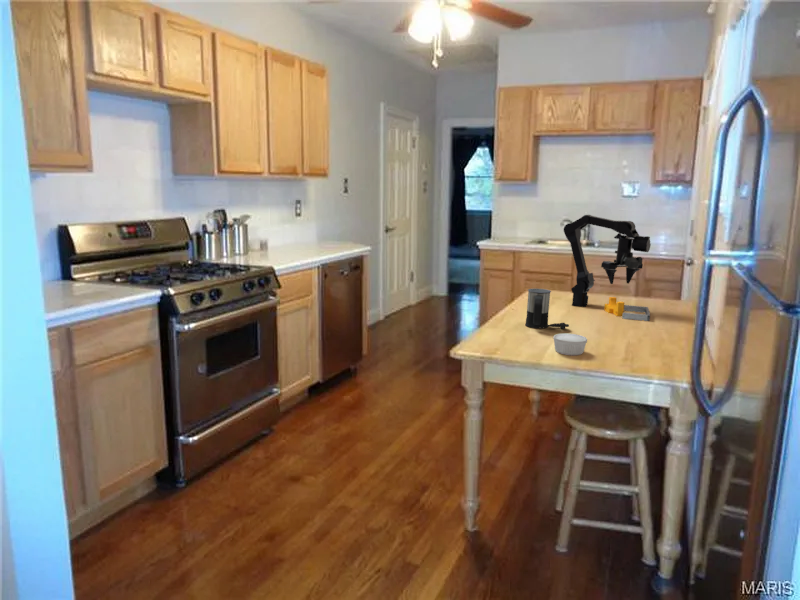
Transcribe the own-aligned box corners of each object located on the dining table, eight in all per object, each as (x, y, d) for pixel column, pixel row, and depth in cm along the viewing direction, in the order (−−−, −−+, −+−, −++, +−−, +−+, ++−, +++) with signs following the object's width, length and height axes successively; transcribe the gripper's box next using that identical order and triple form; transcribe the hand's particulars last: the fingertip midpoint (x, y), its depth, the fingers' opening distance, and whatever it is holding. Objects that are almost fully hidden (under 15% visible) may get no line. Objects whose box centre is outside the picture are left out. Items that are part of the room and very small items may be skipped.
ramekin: (548, 347, 211) (549, 332, 210) (578, 347, 212) (580, 333, 211) (558, 356, 200) (559, 341, 199) (590, 356, 201) (592, 341, 200)
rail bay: (622, 318, 257) (622, 312, 256) (621, 310, 273) (622, 304, 273) (649, 321, 253) (650, 315, 252) (647, 312, 270) (648, 307, 269)
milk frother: (522, 323, 245) (524, 287, 242) (559, 323, 246) (562, 288, 243) (532, 332, 231) (535, 294, 228) (571, 332, 232) (575, 295, 229)
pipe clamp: (604, 310, 272) (605, 296, 271) (613, 310, 272) (615, 297, 271) (613, 316, 260) (614, 302, 259) (623, 317, 260) (624, 302, 259)
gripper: (620, 252, 254) (615, 288, 257) (653, 252, 260) (649, 286, 264) (602, 248, 264) (598, 282, 267) (635, 248, 270) (631, 281, 274)
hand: (619, 283), depth 268 cm, fingers open, 9 cm apart
